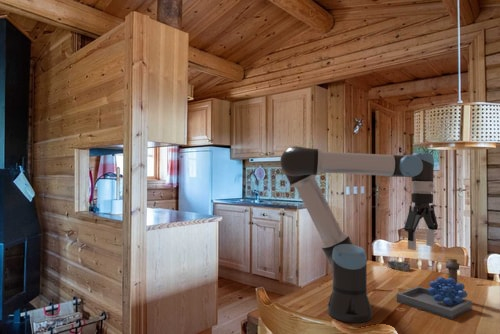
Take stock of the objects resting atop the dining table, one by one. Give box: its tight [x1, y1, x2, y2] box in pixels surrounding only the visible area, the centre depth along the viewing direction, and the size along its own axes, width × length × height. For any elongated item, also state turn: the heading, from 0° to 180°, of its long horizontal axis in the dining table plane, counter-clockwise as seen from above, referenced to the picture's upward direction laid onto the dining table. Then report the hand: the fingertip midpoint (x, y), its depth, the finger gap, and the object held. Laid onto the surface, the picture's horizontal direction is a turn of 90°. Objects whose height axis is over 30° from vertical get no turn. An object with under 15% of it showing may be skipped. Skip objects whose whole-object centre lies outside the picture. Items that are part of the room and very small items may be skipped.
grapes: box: [427, 276, 468, 305], centre depth 125 cm, size 12×7×12 cm
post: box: [445, 258, 462, 298], centre depth 132 cm, size 6×6×16 cm
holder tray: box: [396, 285, 473, 321], centre depth 125 cm, size 16×20×3 cm
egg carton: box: [386, 260, 411, 272], centre depth 175 cm, size 11×8×4 cm
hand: (421, 247), depth 127 cm, fingers open, 13 cm apart
